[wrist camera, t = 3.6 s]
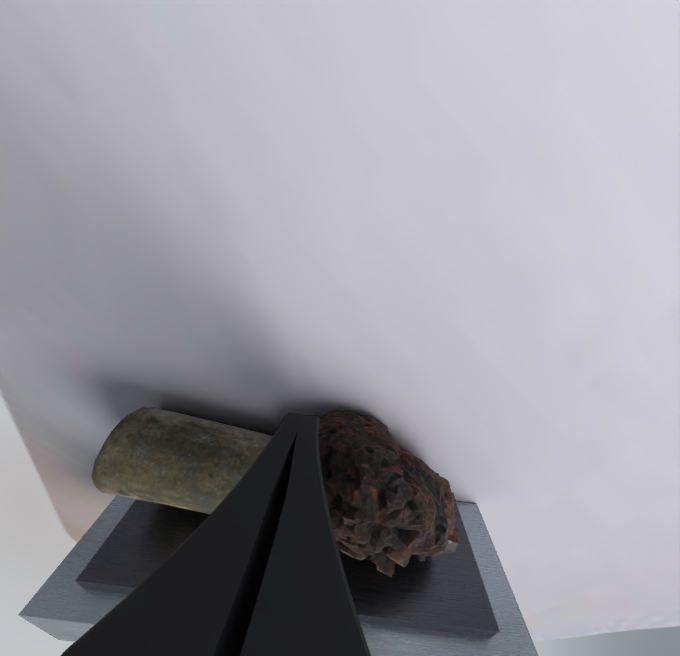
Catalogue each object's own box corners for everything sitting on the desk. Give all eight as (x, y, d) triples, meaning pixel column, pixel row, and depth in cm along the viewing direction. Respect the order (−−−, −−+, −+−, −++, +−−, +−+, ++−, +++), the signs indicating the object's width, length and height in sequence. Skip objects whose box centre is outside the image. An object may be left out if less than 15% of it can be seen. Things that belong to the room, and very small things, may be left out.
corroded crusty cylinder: (169, 440, 16) (83, 546, 11) (152, 360, 13) (24, 455, 8) (422, 487, 17) (450, 608, 12) (463, 420, 14) (525, 545, 9)
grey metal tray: (458, 531, 19) (509, 694, 12) (156, 496, 19) (58, 639, 13) (482, 496, 16) (559, 674, 10) (136, 456, 17) (5, 607, 10)
